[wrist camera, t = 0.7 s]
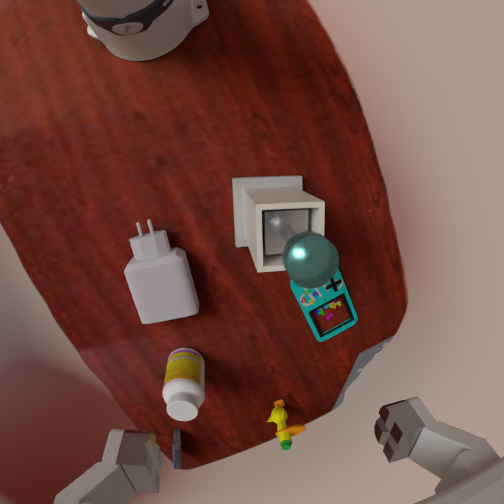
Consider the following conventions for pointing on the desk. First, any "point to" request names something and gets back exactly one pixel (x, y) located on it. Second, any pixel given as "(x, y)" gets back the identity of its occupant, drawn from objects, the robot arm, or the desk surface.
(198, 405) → the supplement bottle
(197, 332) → the desk surface
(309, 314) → the handheld gaming console
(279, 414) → the toy figure
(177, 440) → the mini dv tape
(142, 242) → the charger
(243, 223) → the press housing
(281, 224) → the plunger
